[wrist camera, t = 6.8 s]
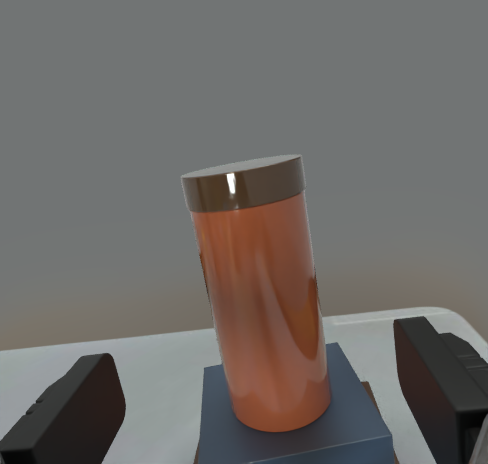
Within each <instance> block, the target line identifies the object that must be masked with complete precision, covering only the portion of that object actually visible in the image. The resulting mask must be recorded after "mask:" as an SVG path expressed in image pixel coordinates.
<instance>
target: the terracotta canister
mask: <svg viewBox="0 0 488 464" xmlns="http://www.w3.org/2000/svg"><path fill="white" fill-rule="evenodd" d="M181 182H182V187H183V192H184V196H185V201H186V206H187V209H188V210H190V214H191V218H192V223H193V227H194V233H195V237H196V242H197V247H198V251H199V256H200V261H201V266H202V270H203V275H204V280H205V285H206V289H207V294H208V299H209V304H210V308H211V313H212V318H213V322H214V327H215V332H216V337H217V341H218V346H219V351H220V356H221V360H222V365H223V370H224V375H225V379H226V384H227V389H228V394H229V398H230V403H231V408H232V411H233V413H234V414H235V416H236V417H237V418H238V419H239V421H241V422H242V423H243V424H245V425H246V426H248V427H250V428H253V429H256V430H259V431H264V432H286V431H291V430H295V429H299V428H301V427H304V426H306V425H308V424H310V423H312V422H314V421H315V420H317V419H318V418H319V417H320V416H321V415H322V414H323V413H324V412H325V411H326V409H327V408H328V406H329V404H330V402H331V398H332V388H331V381H330V374H329V366H328V359H327V352H326V345H325V337H324V330H323V323H322V316H321V309H320V302H319V294H318V287H317V280H316V272H315V265H314V258H313V250H312V243H311V236H310V229H309V221H308V215H307V207H306V200H305V193H304V190H305V189H306V182H305V175H304V168H303V160H302V156H301V155H282V156H274V157H267V158H260V159H253V160H248V161H242V162H236V163H231V164H226V165H221V166H216V167H211V168H207V169H202V170H198V171H195V172H191V173H188V174H185V175H183V176H181Z"/></svg>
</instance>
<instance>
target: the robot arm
mask: <svg viewBox="0 0 488 464" xmlns="http://www.w3.org/2000/svg"><path fill="white" fill-rule="evenodd" d="M393 328H394V339H395V350H396V361H397V372H398V378H399V382H400V386H401V390H402V393H403V395H404V397H405V399H406V401H407V404H408V406H409V408H410V410H411V412H412V414H413V416H414V418H415V420H416V422H417V424H418V426H419V428H420V430H421V432H422V434H423V436H424V439H425V441H426V443H427V445H428V447H429V449H430V451H431V453H432V455H433V457H434V459H435V461H436V463H437V464H488V363H487V362H486V361H485V360H484V359H483V358H481V357H480V355H479V354H478V353H477V351H476V350H475V349H474V348H473V347H472V346H471V345H470V344H469V343H468V342H467V341H465V340H463V339H461V338H459V337H457V336H455V335H453V334H452V333H442V334H438V332H437V331H436V330H435V329H434V327H433V326H432V325H431V324H430V323H429V321H428V320H427V319H426V318H425V317H424V316H421V317H412V318H404V319H396V320H394V324H393ZM125 410H126V404H125V398H124V394H123V390H122V387H121V383H120V380H119V376H118V373H117V369H116V366H115V362H114V359H113V357H112V356H111V355H110V354H109V353H103V354H95V355H86V356H82V357H80V358H79V359H78V361H77V362H76V363H75V364H74V365H73V366H72V368H71V369H70V370H69V371H68V372H67V373H66V375H64V376H63V377H62V378H60V379H59V380H57V381H56V382H55V383H53V384H52V385H51V386H49V387H48V388H47V389H46V390H45V391H44V392H43V393H42V395H41V396H40V397H39V398H38V399H37V400H36V404H33V405H32V406H31V407H30V408H29V409H28V410H27V412H26V415H23V416H22V417H21V418H20V419H19V421H18V422H17V423H16V424H15V425H14V426H13V427H12V429H11V430H10V431H9V432H8V433H7V434H6V435H5V436H4V438H3V439H2V440H1V441H0V464H101V463H102V461H103V459H104V457H105V455H106V454H107V452H108V450H109V448H110V446H111V444H112V442H113V440H114V438H115V436H116V434H117V432H118V431H119V429H120V427H121V425H122V423H123V420H124V417H125Z"/></svg>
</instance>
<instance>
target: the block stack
mask: <svg viewBox="0 0 488 464" xmlns="http://www.w3.org/2000/svg"><path fill="white" fill-rule="evenodd" d="M325 345H326V352H327V359H328V366H329V374H330V381H331V388H332V398H331V402H330V404H329V406H328V408H327V409H326V411H325V412H324V413H323V414H322V415H321V416H320V417H319V418H318V419H317V420H315V421H314V422H312V423H310V424H308V425H306V426H304V427H301V428H299V429H295V430H291V431H286V432H264V431H259V430H256V429H253V428H250V427H248V426H246V425H245V424H243V423H242V422H241V421H239V419H238V418H237V417H236V416H235V414H234V413H233V411H232V408H231V403H230V398H229V394H228V389H227V384H226V379H225V375H224V370H223V365H222V364H221V365H216V366H211V367H206V368H204V379H203V394H202V410H201V425H200V439H199V443H198V447H197V451H196V455H195V459H194V463H193V464H399V462H398V459H397V456H396V454H395V451H394V448H393V440H392V434H391V433H390V431H389V429H388V427H387V426H386V424H385V422H384V421H383V419H382V417H381V414H380V411H379V409H378V406H377V403H376V401H375V398H374V395H373V393H372V390H371V387H370V385H369V382H367V381H366V382H360V380H359V378H358V377H357V375H356V373H355V371H354V370H353V368H352V366H351V365H350V363H349V361H348V360H347V358H346V356H345V354H344V353H343V351H342V349H341V348H340V346H339V344H338V343H337V342H336V343H331V344H325Z"/></svg>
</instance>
